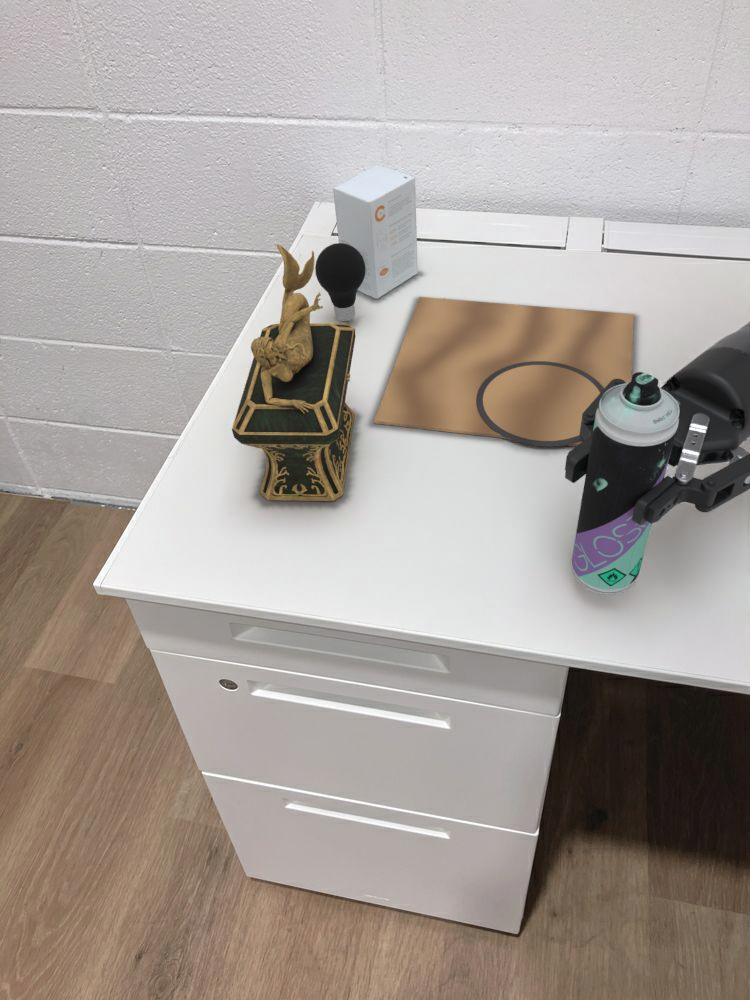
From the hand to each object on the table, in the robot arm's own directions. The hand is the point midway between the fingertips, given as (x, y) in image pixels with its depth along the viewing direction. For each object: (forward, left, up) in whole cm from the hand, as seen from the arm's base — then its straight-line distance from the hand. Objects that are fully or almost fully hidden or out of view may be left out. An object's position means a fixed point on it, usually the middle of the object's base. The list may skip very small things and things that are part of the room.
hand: (603, 492), depth 58 cm
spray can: (-2, -2, -11) cm, 11 cm away
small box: (+29, -47, -13) cm, 57 cm away
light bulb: (+31, -37, -13) cm, 50 cm away
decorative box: (+28, -15, -13) cm, 34 cm away
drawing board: (+10, -31, -13) cm, 35 cm away
